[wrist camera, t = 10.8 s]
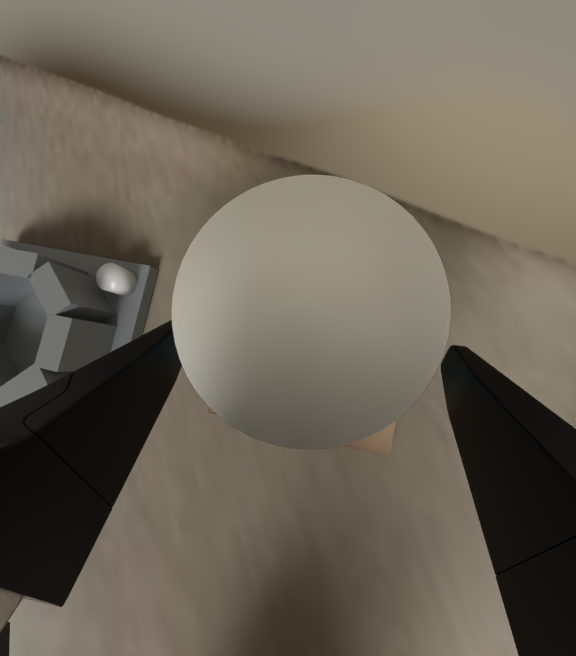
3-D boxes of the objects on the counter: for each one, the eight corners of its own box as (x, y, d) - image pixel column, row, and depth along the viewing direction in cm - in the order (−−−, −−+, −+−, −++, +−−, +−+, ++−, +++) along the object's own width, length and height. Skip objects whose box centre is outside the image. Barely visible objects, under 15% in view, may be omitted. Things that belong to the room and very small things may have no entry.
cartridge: (314, 402, 16) (309, 514, 5) (255, 344, 17) (120, 311, 5) (372, 341, 16) (515, 295, 5) (311, 286, 17) (298, 125, 5)
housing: (115, 437, 19) (54, 461, 15) (-30, 398, 20) (-127, 409, 16) (158, 270, 20) (113, 245, 16) (16, 244, 22) (-62, 214, 17)
